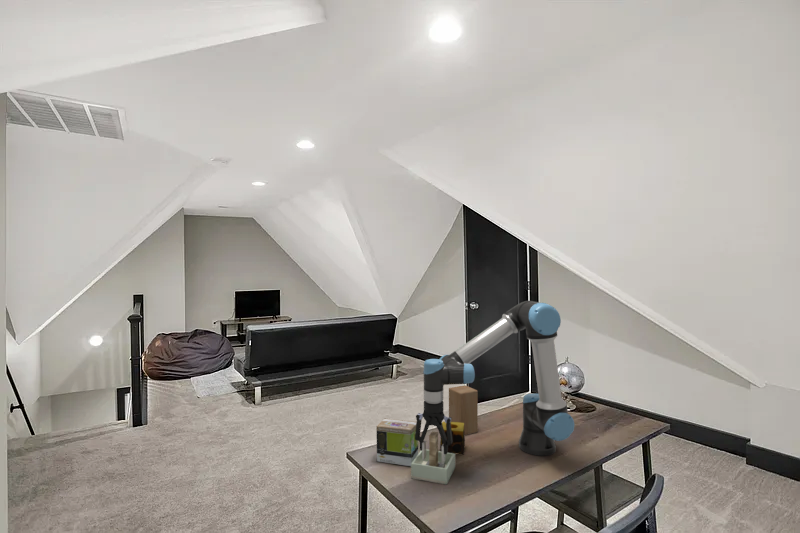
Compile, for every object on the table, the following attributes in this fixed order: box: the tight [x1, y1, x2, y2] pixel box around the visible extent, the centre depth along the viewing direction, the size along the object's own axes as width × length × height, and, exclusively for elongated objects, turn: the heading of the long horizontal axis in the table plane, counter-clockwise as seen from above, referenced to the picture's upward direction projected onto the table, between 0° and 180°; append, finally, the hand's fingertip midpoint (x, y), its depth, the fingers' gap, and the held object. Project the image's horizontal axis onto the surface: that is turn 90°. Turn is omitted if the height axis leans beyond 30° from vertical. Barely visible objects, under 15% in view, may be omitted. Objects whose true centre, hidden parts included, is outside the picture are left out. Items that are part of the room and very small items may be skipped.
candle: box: [439, 420, 466, 455], centre depth 186 cm, size 10×10×10 cm
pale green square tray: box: [410, 448, 456, 485], centre depth 165 cm, size 14×14×6 cm
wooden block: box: [448, 384, 479, 436], centre depth 205 cm, size 10×10×20 cm
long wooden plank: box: [428, 431, 439, 467], centre depth 165 cm, size 2×4×14 cm, turn 160°
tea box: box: [375, 418, 419, 467], centre depth 176 cm, size 15×10×15 cm, turn 71°
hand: (433, 460), depth 165 cm, fingers open, 7 cm apart
